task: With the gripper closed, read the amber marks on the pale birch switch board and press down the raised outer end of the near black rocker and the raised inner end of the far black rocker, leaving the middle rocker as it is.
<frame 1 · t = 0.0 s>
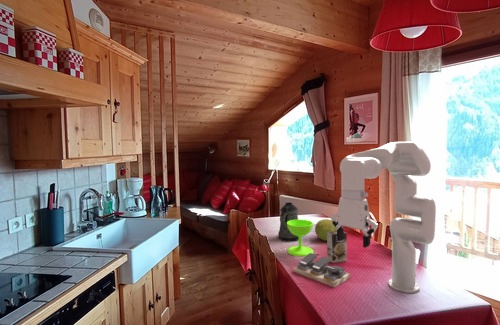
hand: (352, 243, 102), 31 cm above the table, fingers open, 9 cm apart
switch board: (321, 274, 148), on the table
rocker middle: (320, 263, 148), point 6 cm above the table, hinge at 15.0°
fruit: (326, 239, 203), on the table
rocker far: (308, 259, 154), point 6 cm above the table, hinge at 15.0°
coffee box: (336, 260, 166), on the table
beer stein: (290, 238, 207), on the table
wineglass: (300, 251, 181), on the table
rocker near: (334, 268, 142), point 6 cm above the table, hinge at -15.0°
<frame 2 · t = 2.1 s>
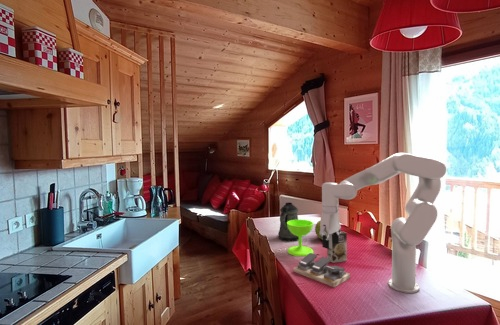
hand: (330, 245, 139), 18 cm above the table, fingers open, 7 cm apart
nothing on the table moved.
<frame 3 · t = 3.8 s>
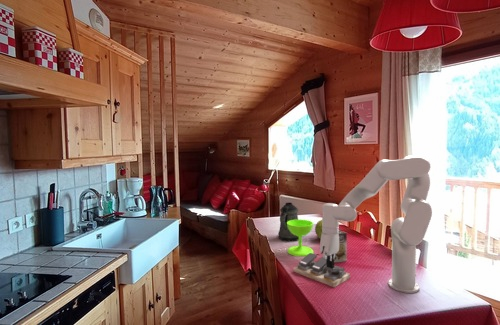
hand: (330, 267, 140), 7 cm above the table, fingers closed
rocker near: (334, 268, 142), point 6 cm above the table, hinge at -14.9°, touching gripper
everything else where it was.
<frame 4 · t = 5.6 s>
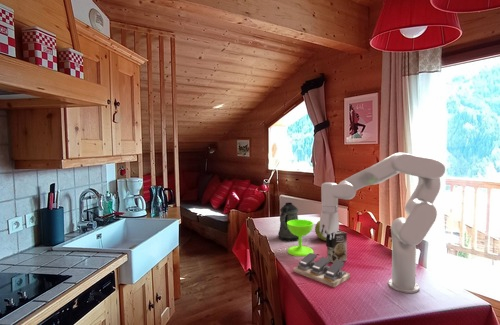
hand: (330, 246, 140), 17 cm above the table, fingers closed
rocker near: (334, 268, 142), point 6 cm above the table, hinge at 20.6°, touching switch board
everything else where it was.
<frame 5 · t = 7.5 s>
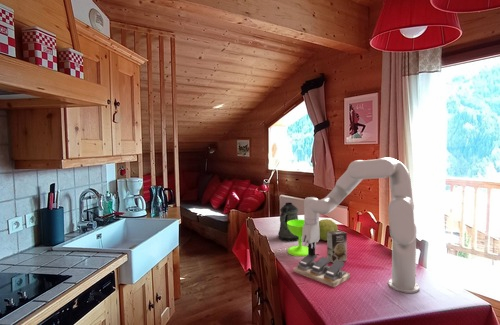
hand: (311, 254, 156), 7 cm above the table, fingers closed
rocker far: (308, 259, 154), point 6 cm above the table, hinge at 15.0°, touching gripper
rocker near: (334, 268, 142), point 6 cm above the table, hinge at 19.9°
everything else where it was.
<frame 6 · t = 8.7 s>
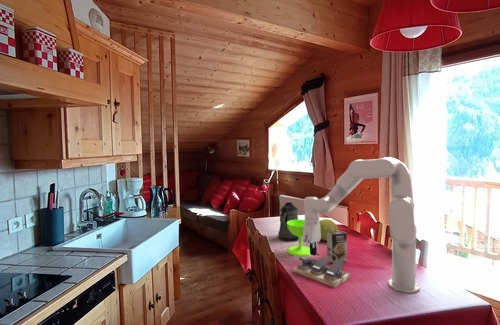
hand: (313, 254, 156), 7 cm above the table, fingers closed
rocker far: (308, 259, 154), point 6 cm above the table, hinge at -16.4°
everything else where it was.
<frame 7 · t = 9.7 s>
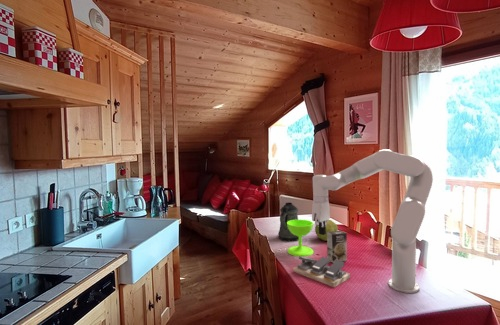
hand: (322, 234, 152), 19 cm above the table, fingers closed
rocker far: (308, 259, 154), point 6 cm above the table, hinge at -20.7°, touching switch board
everything else where it was.
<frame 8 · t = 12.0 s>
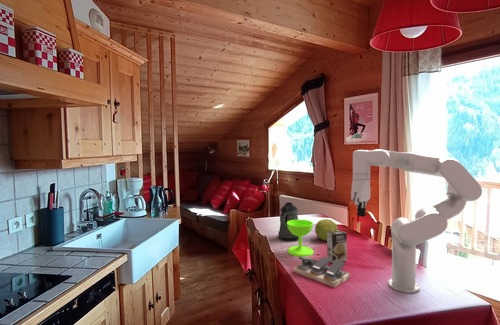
hand: (361, 215, 137), 32 cm above the table, fingers closed
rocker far: (308, 259, 154), point 6 cm above the table, hinge at -20.2°
everything else where it was.
at the end: rocker near at +20° (first picture: -15°); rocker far at -20° (first picture: +15°); rocker middle at +15° (first picture: +15°) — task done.
